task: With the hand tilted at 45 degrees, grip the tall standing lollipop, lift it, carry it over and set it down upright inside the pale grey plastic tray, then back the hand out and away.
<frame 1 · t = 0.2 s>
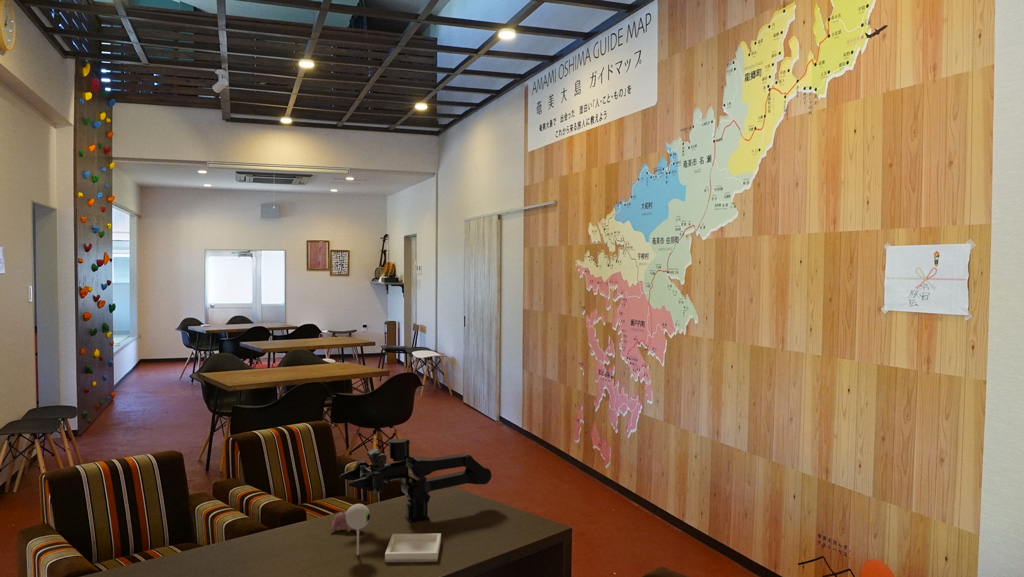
hand: (344, 480, 215), 17 cm above the table, tool horizontal, fingers open, 9 cm apart
tray: (414, 551, 200), on the table
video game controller: (347, 531, 217), on the table
lollipop: (357, 555, 198), on the table
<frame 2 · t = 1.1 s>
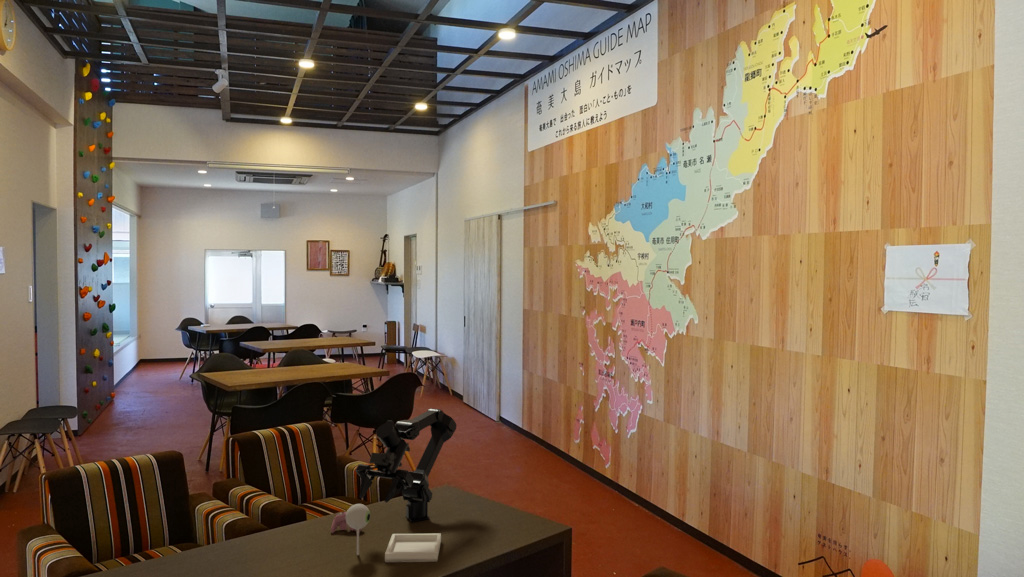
hand: (372, 499, 205), 14 cm above the table, tool tilted 45°, fingers open, 9 cm apart
nothing on the table moved.
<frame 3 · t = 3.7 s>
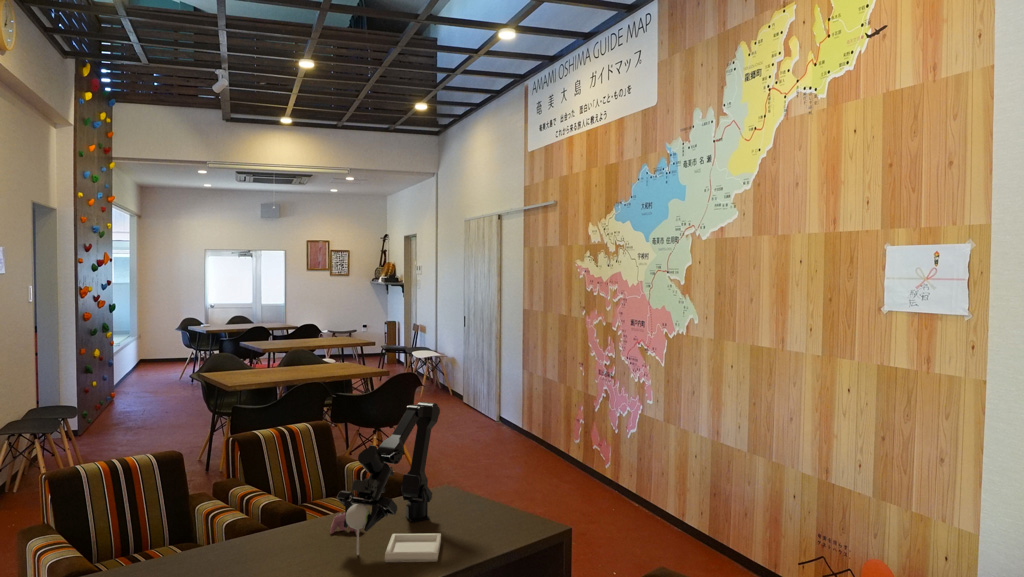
hand: (355, 529, 196), 8 cm above the table, tool tilted 45°, fingers closed on lollipop, 7 cm apart
lollipop: (357, 555, 198), on the table, touching gripper
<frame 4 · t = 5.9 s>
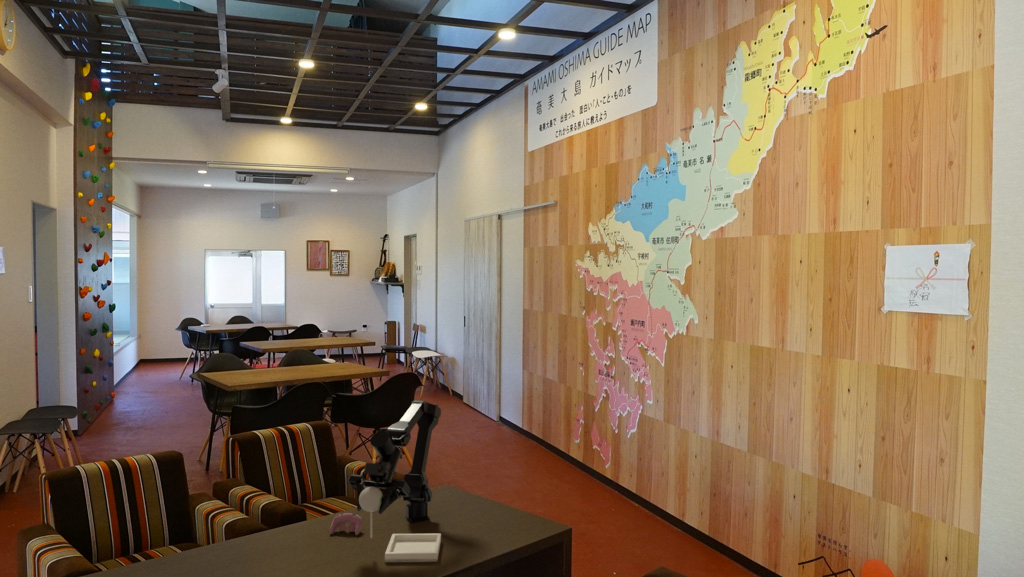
hand: (368, 512, 196), 13 cm above the table, tool tilted 45°, fingers closed on lollipop, 7 cm apart
lollipop: (371, 538, 198), point 5 cm above the table, touching gripper
when the fingers open (10 cm above the table, at t = 8.3 s): lollipop stays where it is, resting on tray.
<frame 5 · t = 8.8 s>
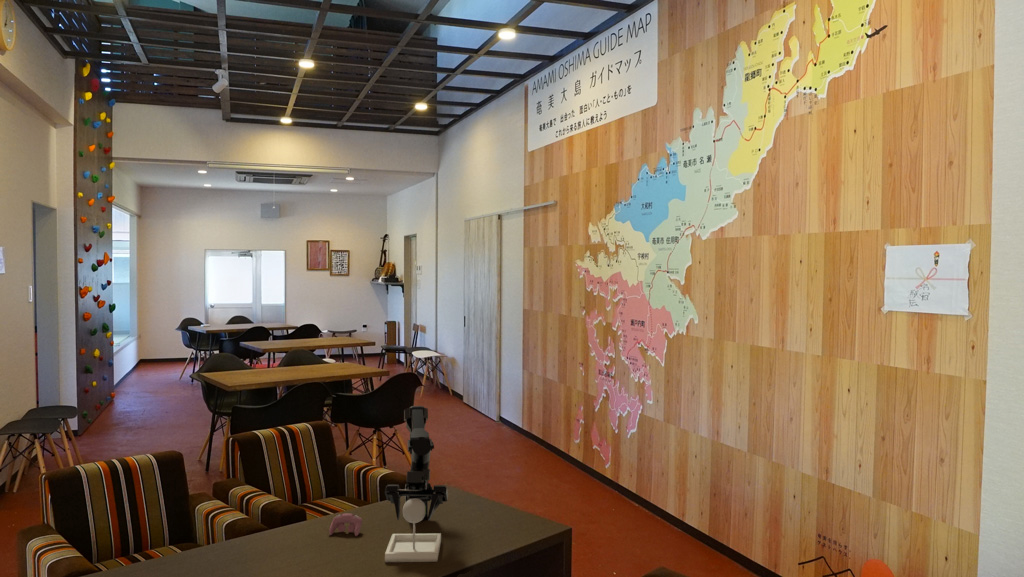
hand: (413, 519, 199), 10 cm above the table, tool tilted 45°, fingers open, 9 cm apart
lollipop: (413, 549, 200), point 1 cm above the table, touching tray
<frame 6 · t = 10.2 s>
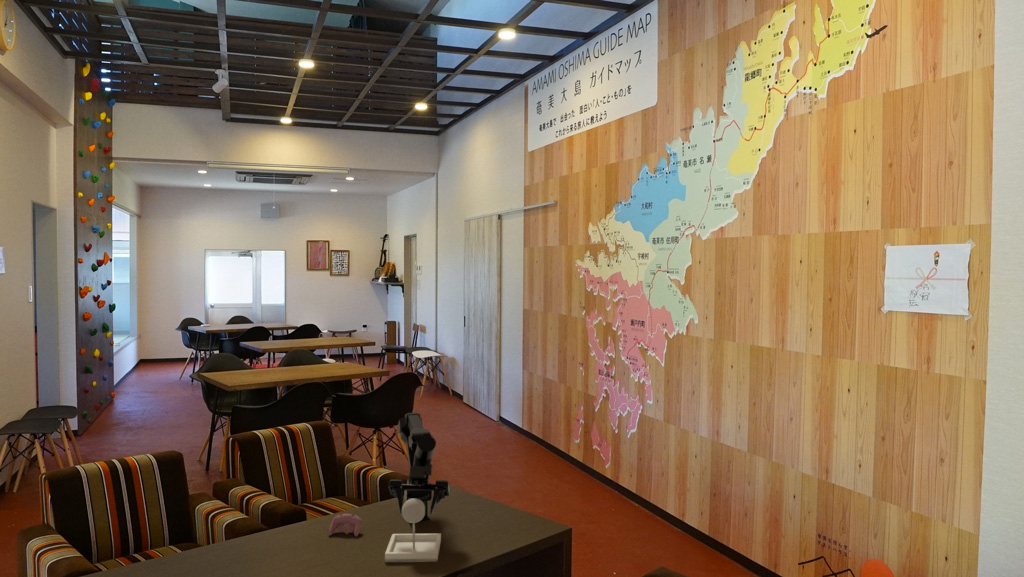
hand: (416, 513, 205), 10 cm above the table, tool tilted 45°, fingers open, 9 cm apart
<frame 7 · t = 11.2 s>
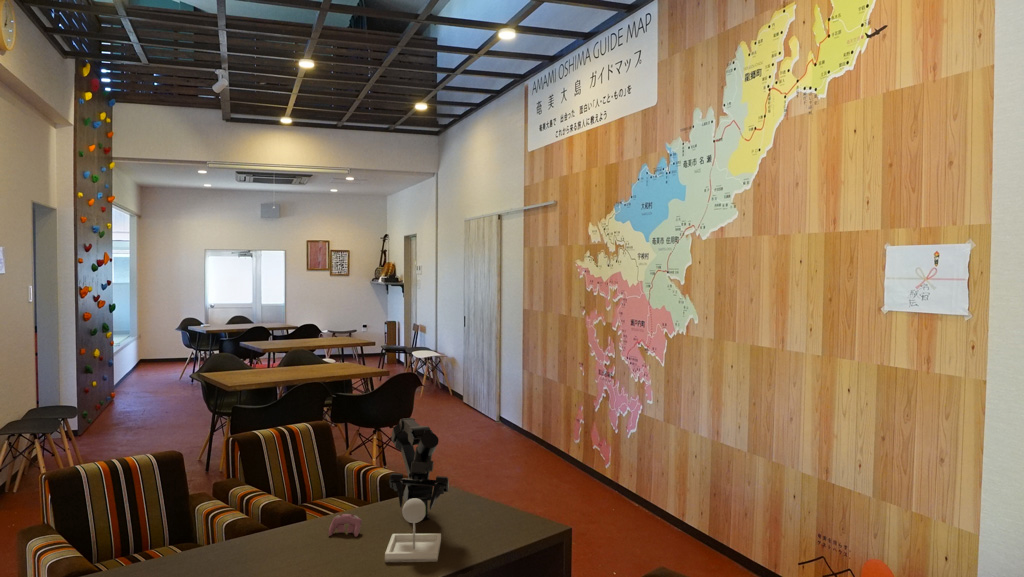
hand: (415, 508, 208), 10 cm above the table, tool tilted 45°, fingers open, 9 cm apart
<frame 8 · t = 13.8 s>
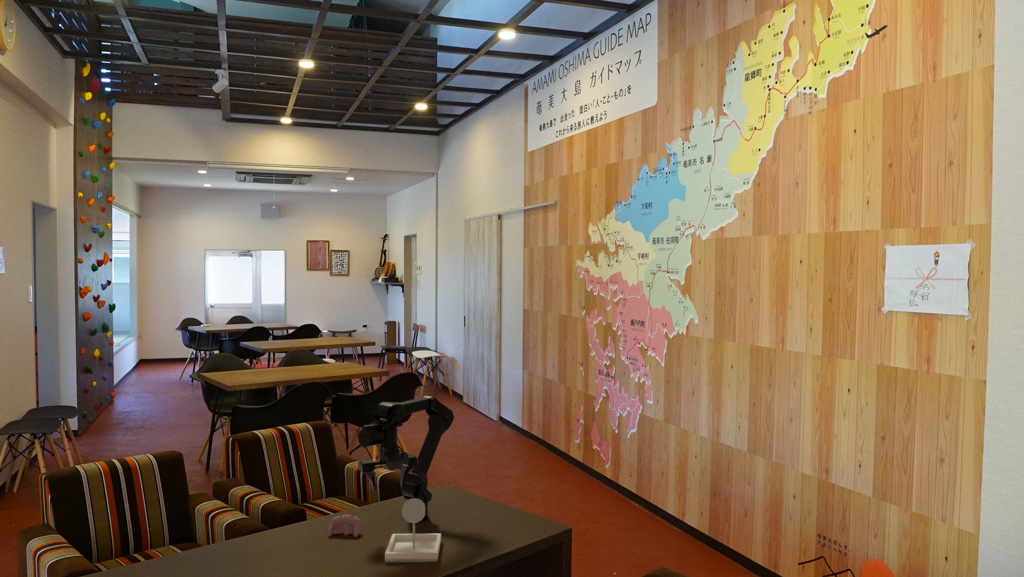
hand: (388, 489, 218), 13 cm above the table, tool pointing down, fingers open, 9 cm apart
at the end: lollipop inside the target area on the tray (0.1 cm from its centre), point 0.6 cm above the tray's base; lollipop tilted 0°; the gripper is holding nothing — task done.
